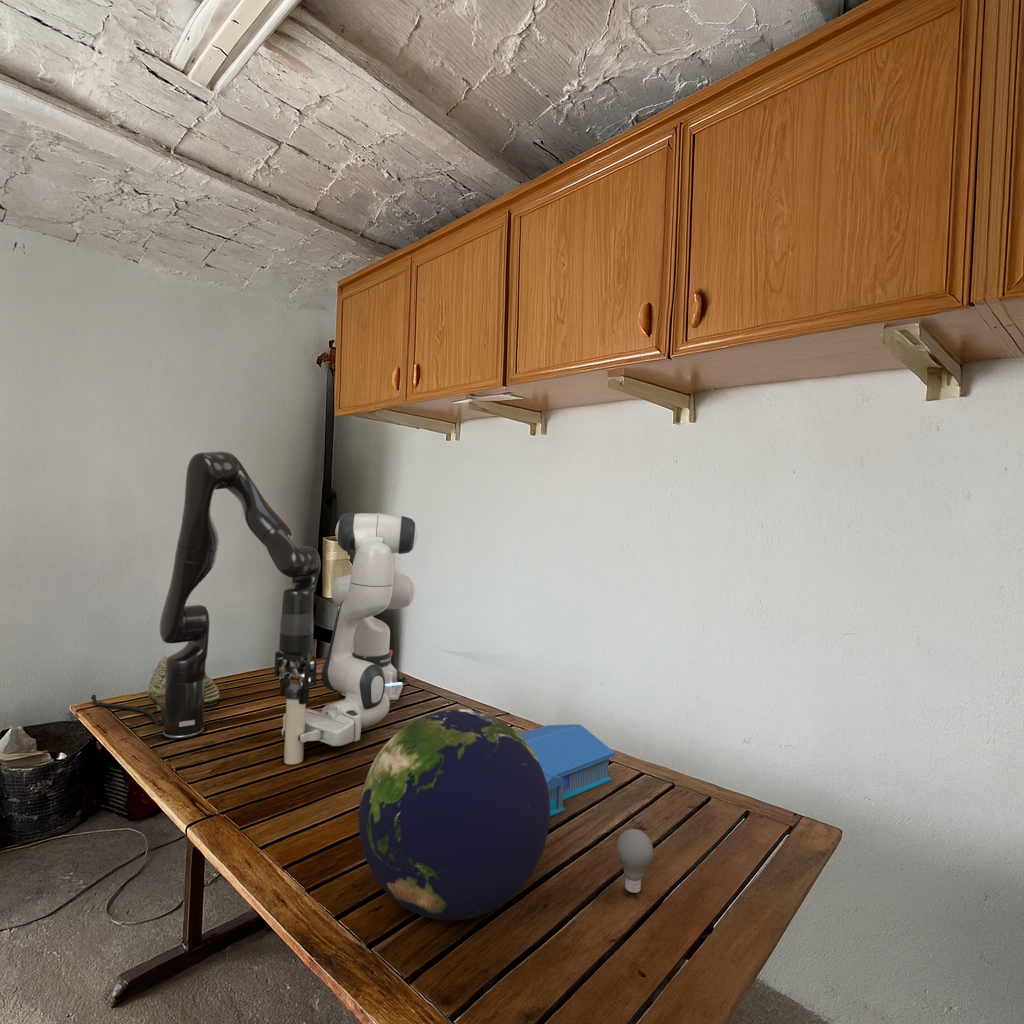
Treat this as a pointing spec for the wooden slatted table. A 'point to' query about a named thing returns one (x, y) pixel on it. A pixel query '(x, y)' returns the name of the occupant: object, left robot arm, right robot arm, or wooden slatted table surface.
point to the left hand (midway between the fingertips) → (293, 699)
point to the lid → (292, 691)
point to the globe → (454, 815)
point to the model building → (569, 760)
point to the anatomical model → (318, 674)
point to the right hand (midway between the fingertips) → (291, 735)
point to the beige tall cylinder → (294, 731)
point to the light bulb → (634, 857)
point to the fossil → (158, 687)
